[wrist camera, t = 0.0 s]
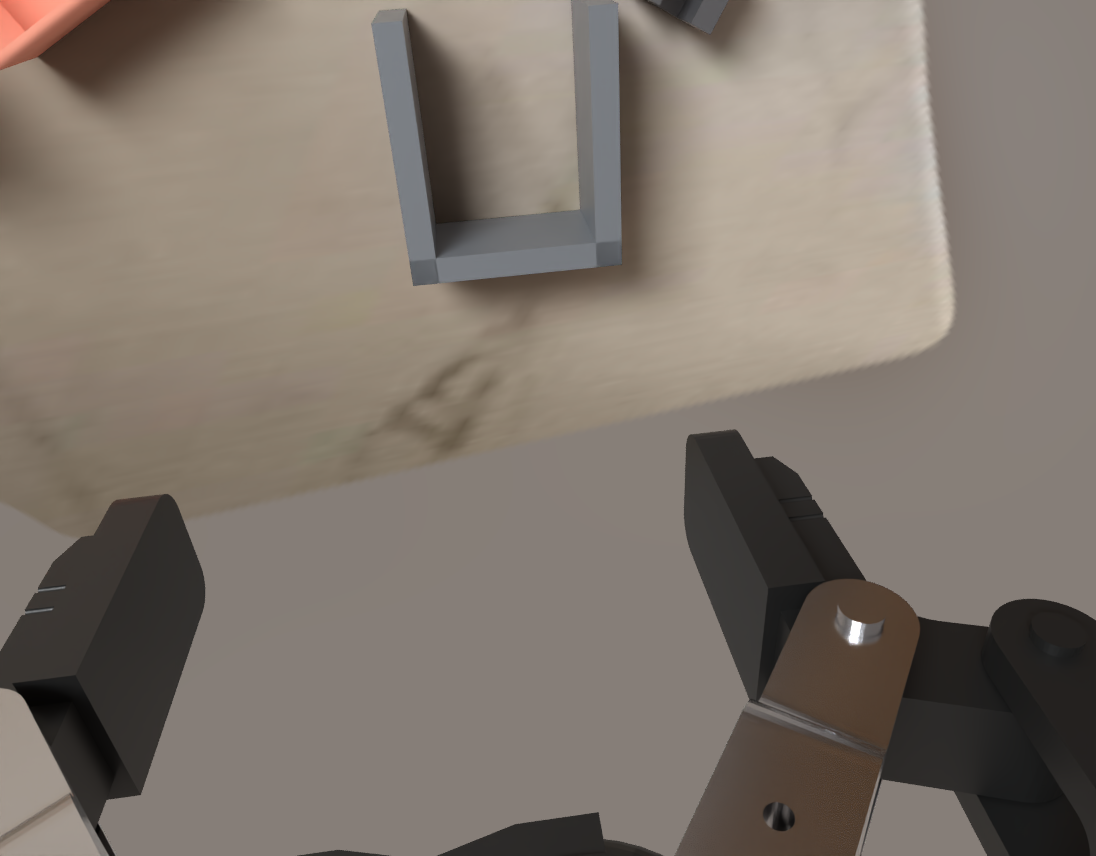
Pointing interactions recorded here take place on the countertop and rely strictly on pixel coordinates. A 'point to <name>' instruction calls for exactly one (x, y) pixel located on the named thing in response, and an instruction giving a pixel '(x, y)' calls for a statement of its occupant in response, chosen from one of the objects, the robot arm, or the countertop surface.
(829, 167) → the countertop surface
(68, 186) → the countertop surface
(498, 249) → the end holder
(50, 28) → the pottery
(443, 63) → the countertop surface
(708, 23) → the clip
